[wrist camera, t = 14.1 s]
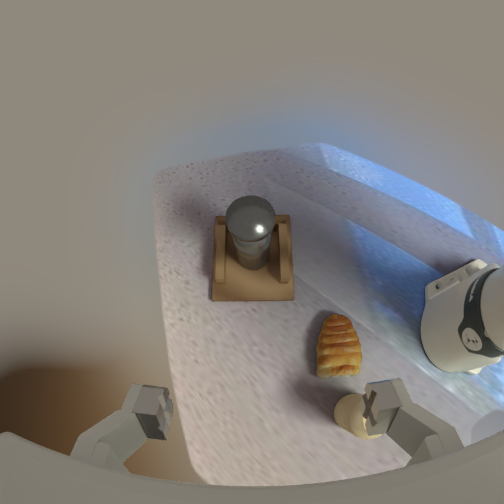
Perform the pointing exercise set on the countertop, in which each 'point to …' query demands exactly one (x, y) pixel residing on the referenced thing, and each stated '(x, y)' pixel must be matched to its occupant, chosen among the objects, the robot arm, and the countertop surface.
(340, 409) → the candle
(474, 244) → the countertop surface
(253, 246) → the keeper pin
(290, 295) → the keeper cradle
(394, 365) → the countertop surface
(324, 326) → the pastry
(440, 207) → the countertop surface
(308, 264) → the countertop surface
